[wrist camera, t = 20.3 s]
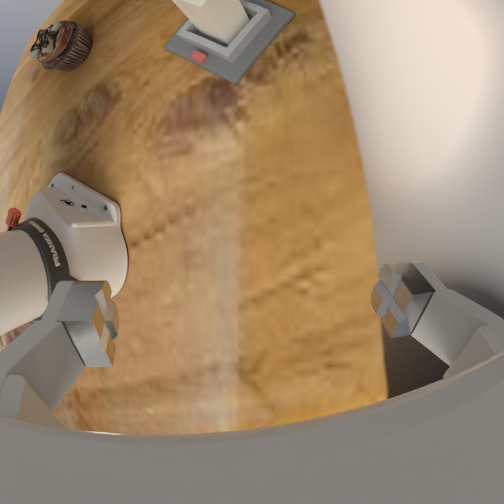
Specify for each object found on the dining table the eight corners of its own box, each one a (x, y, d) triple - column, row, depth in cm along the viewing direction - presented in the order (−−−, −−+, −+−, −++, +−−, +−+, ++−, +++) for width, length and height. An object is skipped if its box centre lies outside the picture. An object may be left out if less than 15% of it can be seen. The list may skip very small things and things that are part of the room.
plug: (201, 33, 33) (159, -12, 21) (221, 10, 31) (186, -39, 20) (230, 46, 32) (193, -4, 21) (250, 22, 31) (221, -32, 19)
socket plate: (166, 50, 35) (156, 42, 32) (220, -13, 31) (214, -23, 29) (236, 85, 34) (229, 78, 31) (295, 15, 30) (292, 4, 27)
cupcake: (100, 22, 36) (64, 1, 27) (91, 66, 38) (50, 49, 28) (64, 40, 39) (29, 25, 29) (56, 82, 40) (16, 71, 31)
